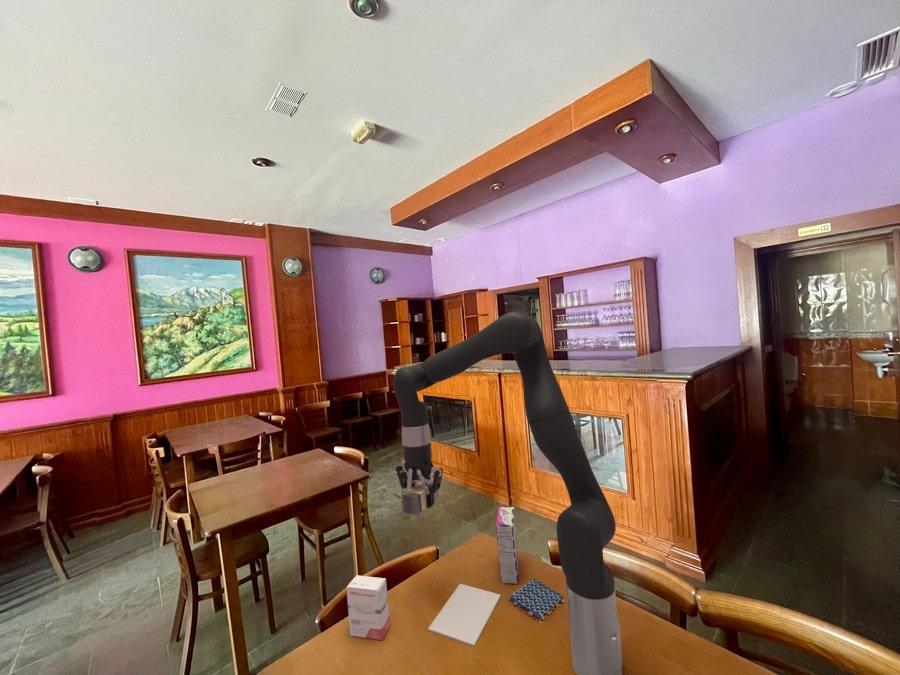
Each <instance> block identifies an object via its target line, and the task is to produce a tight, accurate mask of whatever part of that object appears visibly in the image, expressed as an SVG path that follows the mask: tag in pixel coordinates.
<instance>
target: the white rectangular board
mask: <svg viewBox="0 0 900 675" xmlns="http://www.w3.org/2000/svg"><path fill="white" fill-rule="evenodd" d="M501 596H502V594H499V593H496V592H492V591H489V590H486V589H485V590H484V589H481V588H478V587H474V586H470V585H467V584H463V583H460V584H459V585H458V586H457V587H456V589H455V590H454V592H453V593H452V594H451V596H450V597H449V598H448V600H446V603H445V604H444V606H443V607H442V608H441V609H440V611H439V613H437V615H436V617H435V618H434V619H433V621H432V623H430V625H429V627H427V628H428V631H430V632H432V633H436V634H438V635H441V636H443V637H447V638H449V639H452V640H455V641H458V642H460V643H463V644H466V645H469V646H471V647H476V644H477V642H478V640H479V639H480V637H481V635H482V633H483V631H484V630H485V628H486V625H487V623H488V621H489V619H490V617H491V616H492V614H493V612H494V610H495V608H496V607H497V604H498V603H499V601H500V598H501Z"/></svg>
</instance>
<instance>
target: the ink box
mask: <svg viewBox="0 0 900 675" xmlns="http://www.w3.org/2000/svg"><path fill="white" fill-rule="evenodd" d="M387 587H388V586H387V578H385V577H384V578H383V577H374V576H366V575H355V576H354V577H353V579H352V580H350V582H349V583H348V585H347V586H346V600H347V612H348V613H347V614H348V624H349V635H350V637H358V638H366V639H372V640H378V641H382V640H384V638H385V637H386V635H387V633H388V632H389V629H390V627H391V621H390V620H391V619H390V611H389V609H390V608H389V598H388V589H387Z"/></svg>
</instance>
